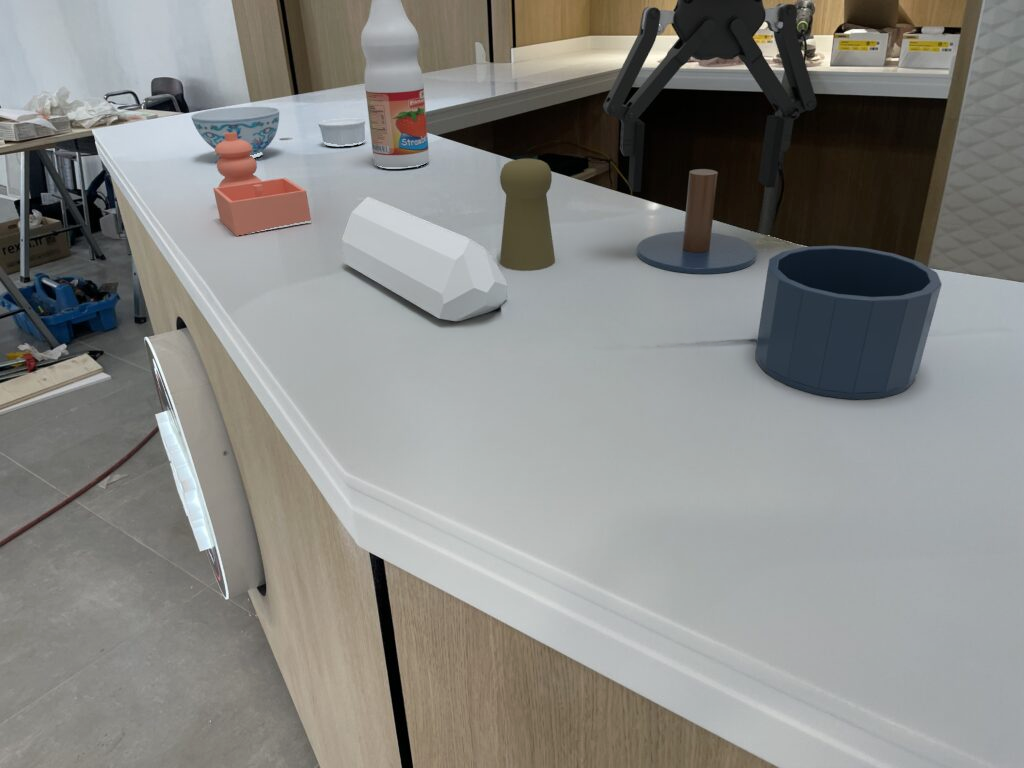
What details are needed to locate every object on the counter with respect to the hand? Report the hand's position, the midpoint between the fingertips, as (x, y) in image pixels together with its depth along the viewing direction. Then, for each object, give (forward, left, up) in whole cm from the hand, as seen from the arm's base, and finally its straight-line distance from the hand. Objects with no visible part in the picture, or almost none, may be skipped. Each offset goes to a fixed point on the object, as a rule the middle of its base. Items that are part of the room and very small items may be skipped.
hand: (700, 186), depth 75 cm
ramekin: (+49, -75, -8) cm, 90 cm away
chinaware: (+66, -66, -8) cm, 94 cm away
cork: (+18, 0, -8) cm, 20 cm away
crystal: (+29, +5, -8) cm, 30 cm away
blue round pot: (-4, +25, -8) cm, 26 cm away
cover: (0, 0, -7) cm, 7 cm away
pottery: (+53, -25, -8) cm, 59 cm away
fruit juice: (+36, -54, -8) cm, 65 cm away
